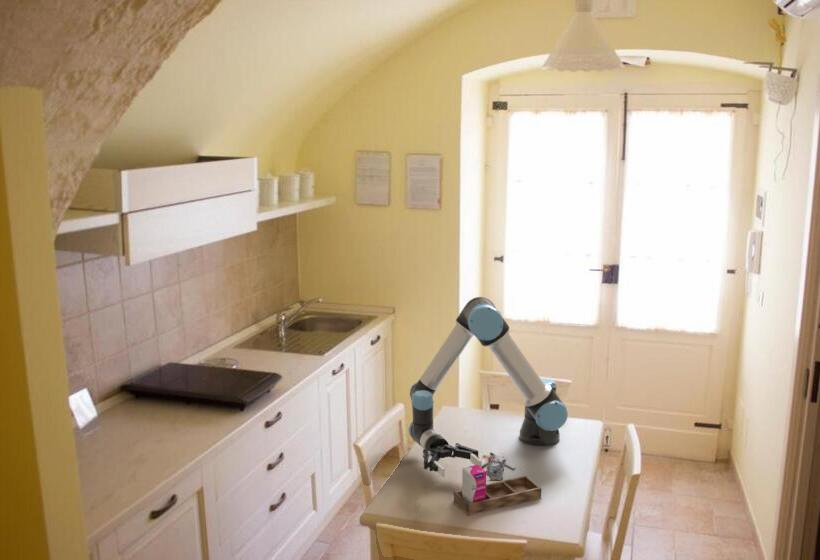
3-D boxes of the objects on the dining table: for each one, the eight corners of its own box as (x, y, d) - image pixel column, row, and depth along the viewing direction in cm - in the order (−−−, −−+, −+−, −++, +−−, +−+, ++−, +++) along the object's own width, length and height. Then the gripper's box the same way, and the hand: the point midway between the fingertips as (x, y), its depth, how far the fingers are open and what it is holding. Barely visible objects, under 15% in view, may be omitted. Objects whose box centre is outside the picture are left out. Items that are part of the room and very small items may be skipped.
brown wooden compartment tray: (525, 485, 259) (525, 475, 258) (541, 498, 250) (541, 488, 249) (453, 501, 249) (453, 491, 248) (467, 515, 240) (467, 505, 239)
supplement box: (470, 508, 242) (470, 475, 240) (461, 500, 247) (461, 467, 245) (486, 504, 244) (486, 471, 242) (477, 496, 250) (477, 463, 247)
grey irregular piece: (502, 483, 262) (502, 477, 261) (482, 481, 263) (482, 475, 263) (508, 458, 281) (508, 452, 281) (490, 456, 283) (490, 451, 282)
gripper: (466, 447, 276) (495, 472, 257) (401, 460, 266) (427, 487, 247) (466, 428, 275) (495, 451, 255) (401, 440, 265) (427, 465, 246)
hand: (462, 469), depth 251 cm, fingers open, 13 cm apart
